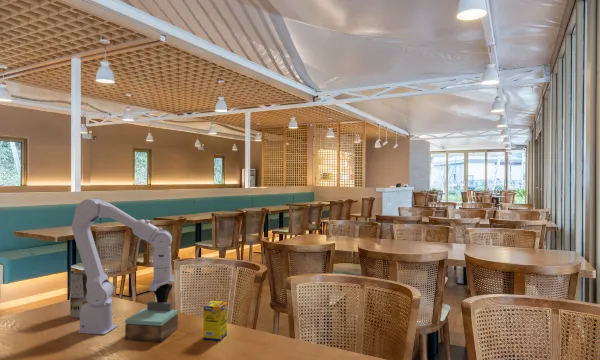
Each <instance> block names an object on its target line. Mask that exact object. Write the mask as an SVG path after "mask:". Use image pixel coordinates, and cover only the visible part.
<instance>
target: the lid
mask: <svg viewBox="0 0 600 360" xmlns="http://www.w3.org/2000/svg"><path fill="white" fill-rule="evenodd" d="M146 305H147V307H144V308H142V309H141V310H139V311H138V312H136V313H134V314H132V315H131V316H129V317H128V318H126V319H125V321H124V323H125V325H126V324H138V325H155V326H162V325H163V324H165V323H166V322H167V321H168V320H170V319H171V318H172V317H174V316H175V315H176V314H178V313H179V311H178V310H179V309H173V302H168V301H167V302H157V301H149V302H147V304H146Z"/></svg>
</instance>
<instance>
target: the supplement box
mask: <svg viewBox="0 0 600 360" xmlns="http://www.w3.org/2000/svg"><path fill="white" fill-rule="evenodd" d="M202 324H203V329H202V330H203V331H202V332H203V334H202V335H203V337H202V338H203V341H213V342H214V341H215V342H221V341H223V339H224V338H225V337H226V336H227V335H228V301H222V300H221V301H220V300H219V301H218V300H210V301H209V302H208V303H206V304H204V305H203V323H202Z"/></svg>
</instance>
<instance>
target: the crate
mask: <svg viewBox="0 0 600 360" xmlns="http://www.w3.org/2000/svg"><path fill="white" fill-rule="evenodd" d="M178 325H179V315H178V314H176V315H175V316H174V317H172V318H171V319H170V320H168V321H167V322H166V323H165V324H163V325H162V326H155V325H138V324H125V327H124V328H125V331H124V332H125V333H124V340H125V341H128V342H142V343H143V342H144V343H158V344H159V343H161V344H162V343H163V342H164V341H165V340H166V339H168V338H169V337H171V335H172V334H173V333H175V332H176V331H177V330H178V329H179V326H178Z"/></svg>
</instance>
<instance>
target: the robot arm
mask: <svg viewBox="0 0 600 360" xmlns="http://www.w3.org/2000/svg"><path fill="white" fill-rule="evenodd" d="M100 218H110V219H112V220H114V221H116V222H118V223H120V224H122V225H124V226H126V227H128V228H130V229H131V231H132V234H133V235H135V236H136V237H138V238H140V239H142V240H143V241H145V242H147V243H149V244H152V246H153V248H154V249H153V251H154V252H153V280H152V281H151V283H149V285H148V286H149V288H148V290H149V292H150V291H151V292H153V294H154V295H155V297H156V302H168V300H169V299H168V298H169V295H170V292H171V290H172V288H173V284H172V283H174V282H175V275H174V274H172V247H171V246H172V245H171V244H172V242H173V236H172V234H171V233H170V232H169V230H166V229H164V230H163V228H162V227H158V226H156V225H154V224H152V223H151V220H149V219H139V220H138V219H136V218H135V217H132V216H131V215H130V214H128V213H127V212H125V211H123V210H122V209H120V208H118V207H117V206H115V205H113V204H112V203H110V202H108V201H104V200H103V199H102V198H99V197H95V198H91V199H89V198H87V199H84V200H81V202H79V204H78V205H77V206H76V207H75V208H74V216H73V219H72V223H71V230H72V233H73V237H74V241H75V243H76V247H77V250H78V253H79V256H80V260H81V262H82V267H83V270H85V273H86V276H87V283H86V288H87V295H86V299H87V301H88V303H85V304H84V305H83V306H82V308H81V310H80V318H79V330H78V332H77V333H78V334H89V335H90V334H91V335H106V334H108V333H109V332H111V331H112V330H115V328H118V324H113V299H112V297H111V296H112V295H114V292H115V287H114V284H113V282H112V281H111V280H110V279H109V276H108V275H107V274H106V273H105V272H104V268H103V266H102V263H101V259H100V256H99V252H98V249H97V246H96V243H95V240H94V239H95V238H94V237H93V233H92V230H91V228H92V226H93V224H94V223H95V221H96V220H97V219H100Z"/></svg>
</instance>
